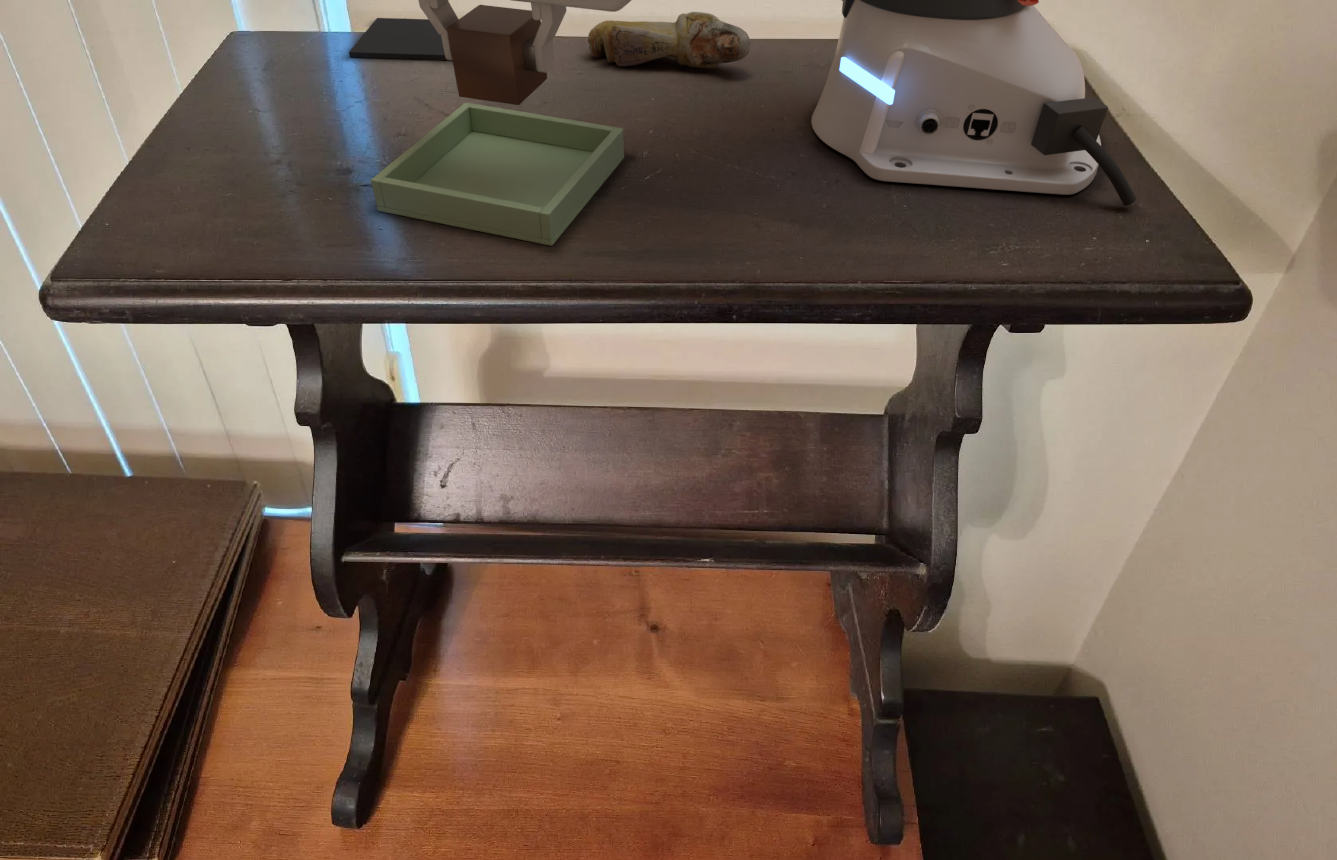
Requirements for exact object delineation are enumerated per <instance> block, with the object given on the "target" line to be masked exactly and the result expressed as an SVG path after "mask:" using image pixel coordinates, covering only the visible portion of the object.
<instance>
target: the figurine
mask: <svg viewBox="0 0 1337 860" xmlns="http://www.w3.org/2000/svg"><path fill="white" fill-rule="evenodd" d="M587 42H588V45H589V51H590V54H592V56H593V57H598V58H600V57H603V56H606V59H607V62H608V63H616V65H617V67H631V66H632V67H633V66H636V65H641V64H644V63H647V62H650V61H654V60H657V59H661V58H664V57H665V58H667V57H668V58H673V59H675V60H676V61H677V62H678V64H679V65H680V66H687V67H690V68H716V67H717V66H719V65H721V64H728V63H734V62H738V61H740V60H742V59H744V58H746V57H747V56H748V55H749V54H750V51H751V44H752V43H751V39H750V36H749V34H748V32H747V31H746V30H744V29H743V28H741V27H740V26H737V25H733V24H730V23H727V22H725V21H722V20H720V19H719V17H717V16H716V15H714V14H712V13H708V12H703V11H701V12H700V11H690V12H687V13H680V14H679V15H678V16H677V19H676V21H675V22H671V21H625V20H604V21H600V22H599V23H598V24H596V25H595V26H593V27H592V28H591V29H590V31H589V32H588V36H587Z"/></svg>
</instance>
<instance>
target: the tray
mask: <svg viewBox="0 0 1337 860" xmlns="http://www.w3.org/2000/svg"><path fill="white" fill-rule="evenodd" d="M624 142H625V141H624V128H622V127H617V126H611V125H604V124H597V123H592V122H586V121H581V120H574V119H568V118H563V117H562V118H561V117H556V116H551V115H543V114H538V113H531V112H525V111H519V110H513V109H508V108H501V107H495V106H489V105H485V104H484V105H483V104H479V103H472V102H471V103H470V102H464V103H463V104H461V105H460V106H458V108H456V109H455V110H454V111H453V112H451V113H450V114H449V115H448V116H446V117H445V118H444V119H443V120H442V121H441V122H439V123H438V124H437V125H436V126H435V127H433V128H432V129H431V130H429V131H428V132H427V133H426V134H425V135H423V136H422V137H421V138H420V139H419V140H417V141H416V142H415V143H414V144H412V145H411V146H410V147H409V148H408V149H407V150H405V151H404V152H403V153H402V154H400V155H399V156H398V157H396V158H395V159H394V160H393V161H392V162H391V163H389V164H388V165H387V166H386V167H384V169H382V170H381V171H380V172H378V173H377V174H376V175H374V176H373V177H372V178H371V179H370V183H371V187H372V190H373V191H372V192H373V195H374V199H375V203H376V209H377V211H378V212H382V213H388V214H392V215H397V216H403V217H407V218H412V219H417V220H422V221H426V222H431V223H435V224H441V225H447V226H451V227H455V228H456V227H457V228H461V229H467V230H471V231H477V232H481V233H486V234H490V235H491V234H492V235H496V236H500V237H506V238H511V239H516V240H520V241H526V242H531V243H535V244H541V245H546V246H551V247H552V246H553V245H554V244H555V243H556V242H557V241H558V239H559V238H560V237H561V236H562V234H563V233H564V232H565V231H566V229H567V228H568V227H569V226H570V225H571V223H573V221H574V220H575V218H577V216H578V215H579V213H581V211H582V210H583V209H584V208H585V207H586V205H587V204H588V203H589V201H590V200H591V199H592V197H594V195H595V194H596V193H597V191H599V190H600V188H601V187H602V186H603V184H605V182H606V181H607V180H608V178H609V177H610V176H611V174H612V173H613V172H614V171H615V170H616V169H617V168H618V166H619V165H620V164H621V162H622V161H623V160H624V159H625V147H624V146H625V143H624Z"/></svg>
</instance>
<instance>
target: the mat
mask: <svg viewBox="0 0 1337 860" xmlns="http://www.w3.org/2000/svg"><path fill="white" fill-rule="evenodd" d="M348 56H349V57H350V58H363V59H364V58H366V59H396V60H427V61H428V60H429V61H432V60H433V61H448V60H447V59H446V57H445V53H444V48H443V43H442V38H441V35H440V34H439V33H438V32H437V31H436V29H435V28H434V26H433V25H432V23H431V22H430V21H429V19H428V18H395V17H376V18H375V20H374V21H373V22H372V23H371V24H370V26H369V27H368V28H367V29H366V30H365V31H364V33H363V34H362V35H361V37H360V38H359V39H358V40H357V42H355V44H354V45H353V46H352V47H351V49H350V50H349V51H348Z"/></svg>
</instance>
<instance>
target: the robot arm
mask: <svg viewBox="0 0 1337 860" xmlns="http://www.w3.org/2000/svg"><path fill="white" fill-rule="evenodd" d="M449 1H450V0H418V5H419V8H420V9H421V11H422V12H423V14H424V15H425V17H426V19H429V21H430V22H431V23H432V25H433V26H434V28H435V29H436V31H437V32H438V33H439V34H440V35H441V38H442V43H443V48H444V53H445V57H446V59H447V60H446V61H452V55H451V50H450V44H449V39H448V33H447V27H449V26H450V25H452V24H453V23H454V22H456V21H457V20H459V19H460V18H459V17H458V16H457V14H456V12H455V11H454V9H453V7H452V5H451V3H450V2H449ZM511 1H513V2H521V3H530V7H531V11H532V16H533V19H534V20H541V24H540V27H539V29H538V32H537V34H536V36H535V35H533V36H532V37H531V38H530V39H529V40H528V41H526V42H525V43H524V44H522V52H523V57H524V59H525V60H524V67H525V69H526V70H528V71H535V72H543V73H547V74H548V72H549V71H550V70H552V69H553V68H554V66H555V61H556V58H555V46H554V39H555V37H556V35H557V33H558V31H559V29H560V26H561V24H562V22H563V19H564V18H565V16H566V13H567V8H577V9H584V10H593V11H602V12H610V13H611V12H615V13H616V12H619V11H621V10H622V9H623V8H625V7H626V6H627V5H628V4H629V3H630V2H632V0H511ZM841 2H842V5H841V6H842V7H841V15H842V16H843V17H842V18H843V19H842V24H841V28H840V33H839V37H838V41H837V44H836V47H835V50H834V51H835V52H834V55H833V59H832V62H831V66H830V69H829V72H828V75H827V78H826V81H825V84H824V87H823V89H822V93H821V95H820V97H819V100H818V102H817V104H816V106H815V108H814V110H813V112H812V115H811V119H810V120H811V121H810V122H811V123H810V124H811V127H812V130H813V131H814V133H815V134H816V136H817V137H818V138H819V139H820V140H821V141H822V142H823V143H825V145H827V146H828V147H830V148H831V149H833V150H835V151H836V152H838V153H840V154H842V155H844V156H846V157H848V158H849V159H850V160H852V161H853V162H854V163H856V165H857V166H858V167H859V169H860V170H862V171H863V173H864V174H866V175H867V176H868V177H870V178H871V179H873V180H876V181H881V182H891V183H904V184H915V185H916V184H917V185H932V186H942V187H943V186H944V187H957V188H972V189H983V190H995V191H996V190H998V191H1007V192H1008V191H1010V192H1011V191H1012V192H1023V193H1035V194H1036V193H1037V194H1050V195H1063V196H1065V195H1066V196H1068V195H1069V196H1070V195H1075V194H1077V193H1079V192H1081V191H1083V190H1084V189H1086V188H1087V187H1088V186H1089V185H1090V184H1091V183H1092V182H1093V180H1095V177H1096V175H1097V173H1098V170H1099V167H1100V168H1101V170H1102V171H1103V172H1104V174H1105V175H1106V177H1107V178H1108V179H1109V181H1110V183H1111V184H1112V187H1113V188H1114V190H1115V192H1116V193H1117V196H1118V197H1119V200H1120V201H1121V202H1122V204H1123V206H1125V207H1127V206H1130V205H1132V204H1133V203H1135V202H1136V201H1137V197H1136V195H1135V192H1134V191H1133V189H1132V188H1131V185H1130V184H1129V182H1128V179H1127V178H1126V176H1125V175H1124V173H1123V171H1122V170H1121V169H1120V166H1118V164H1117V163H1116V161H1115V160H1114V159H1113V158H1112V156H1111V155H1110V154H1109V153H1108V151H1106V149H1105V148H1104V147H1103V146H1102V141H1101V138H1100V132H1101V130H1102V127H1103V124H1104V121H1105V119H1106V116H1107V113H1108V110H1109V107H1108V106H1107V105H1106V104H1105V103H1103V102H1101V101H1100V100H1098V99H1097V98H1096V97H1094V96H1093V97H1086V85H1085V84H1086V82H1085V74H1084V69H1083V66H1082V64H1081V61H1080V59H1079V56H1078V55H1077V53H1076V52H1075V51H1074V50H1073V48H1071V46H1070V45H1069V44H1068V43H1067V42H1066V41H1065V40H1064V39H1063V37H1062V36H1061V35H1060V34H1059V33H1058V32H1057V30H1055V28H1054V27H1053V26H1052V24H1050V23H1049V21H1048V20H1047V19H1046V18H1045V17H1044V16H1043V15H1042V13H1041V12H1040V11H1039V10H1038V9H1037V7H1036V6H1035V5H1037V4H1039V2H1040V1H1039V0H841Z"/></svg>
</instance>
